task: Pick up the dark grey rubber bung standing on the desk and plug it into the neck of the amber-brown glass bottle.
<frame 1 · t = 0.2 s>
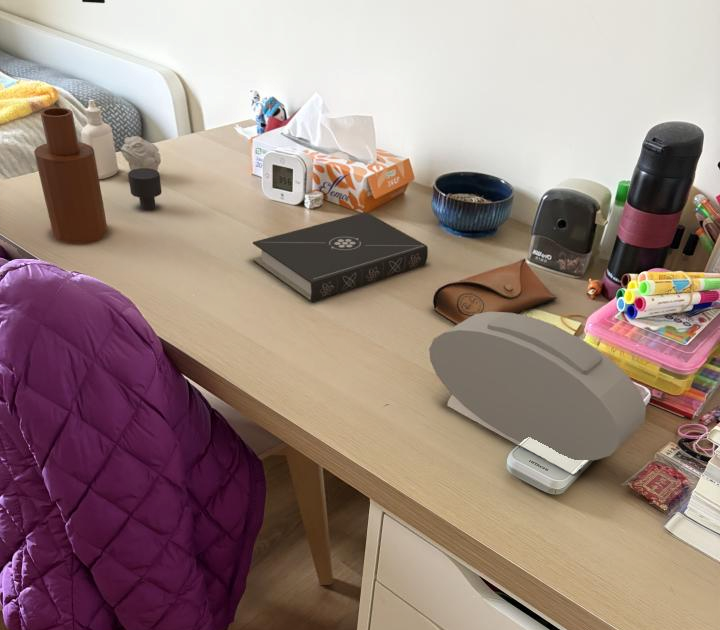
alarm clock: (518, 431, 80), on the table
book: (341, 264, 107), on the table
eye dropper bottle: (104, 175, 126), on the table
bung: (148, 207, 117), on the table
sunglasses case: (495, 305, 101), on the table
brown bottle: (80, 232, 109), on the table
frog figurine: (144, 179, 126), on the table
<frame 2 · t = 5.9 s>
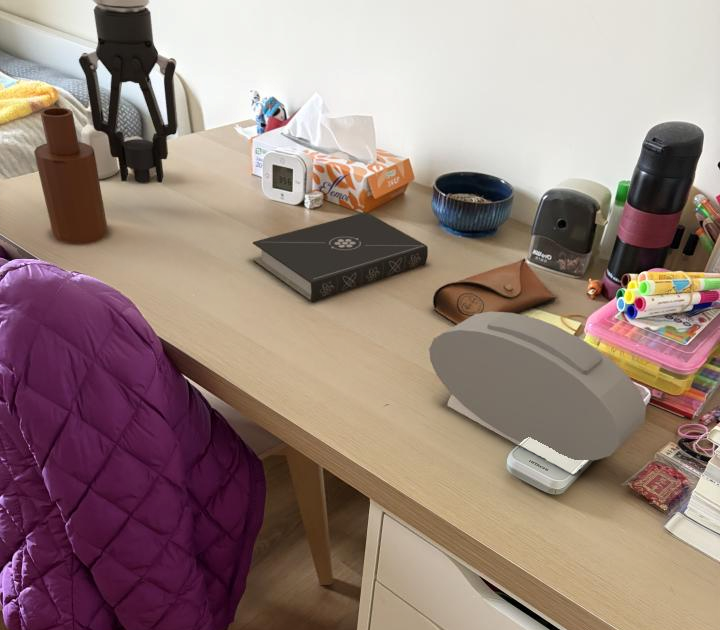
hand: (142, 178, 114), 5 cm above the table, tool pointing down, fingers closed on bung, 5 cm apart
bung: (142, 180, 114), point 4 cm above the table, touching gripper
everything else where it was.
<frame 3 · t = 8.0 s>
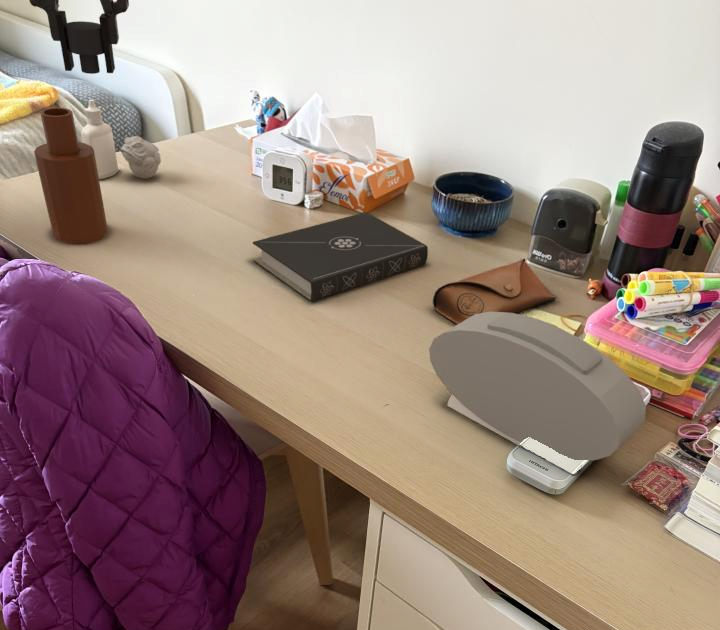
hand: (90, 69, 99), 21 cm above the table, tool pointing down, fingers closed on bung, 5 cm apart
bung: (90, 71, 99), point 21 cm above the table, touching gripper
everything else where it was.
when the fingers open (14 cm above the table, at t = 10.2 s): bung stays where it is, resting on brown bottle.
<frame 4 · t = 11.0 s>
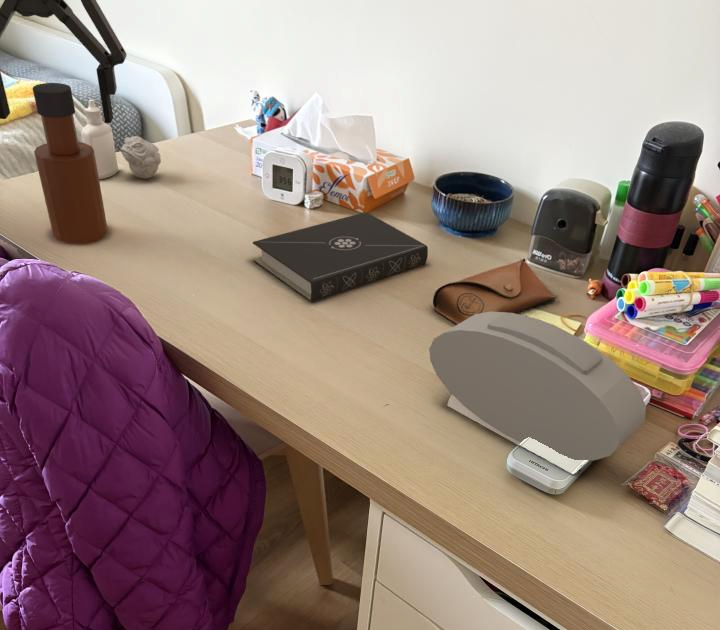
hand: (57, 118, 98), 16 cm above the table, tool pointing down, fingers open, 13 cm apart
bung: (60, 131, 99), point 14 cm above the table, touching brown bottle
brown bottle: (80, 232, 109), on the table, touching bung
everything else where it was.
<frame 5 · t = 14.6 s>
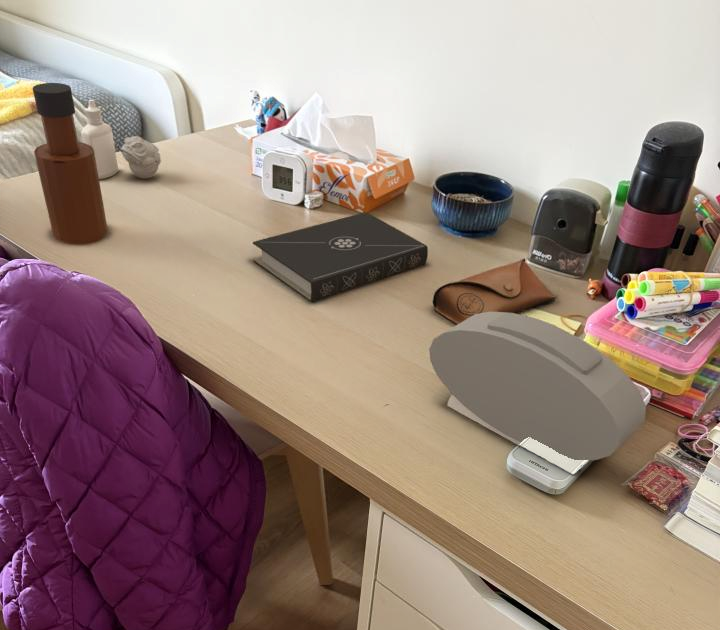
nothing on the table moved.
at the end: bung 0.0 cm off-centre in the brown bottle, point 14.5 cm above the brown bottle's base; bung tilted 0°; the gripper is holding nothing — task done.
